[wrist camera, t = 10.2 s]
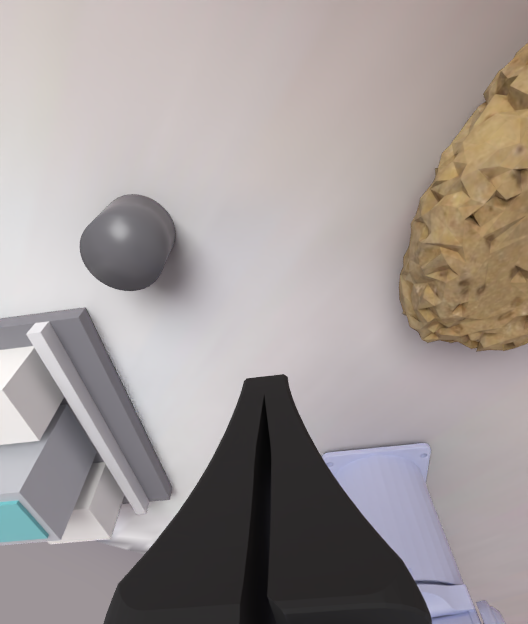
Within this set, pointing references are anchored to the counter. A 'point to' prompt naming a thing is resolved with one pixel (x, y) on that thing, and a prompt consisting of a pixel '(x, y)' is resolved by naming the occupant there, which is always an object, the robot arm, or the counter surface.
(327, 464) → the robot arm
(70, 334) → the rail board
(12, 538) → the module
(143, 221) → the knob
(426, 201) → the sponge
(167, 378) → the counter surface
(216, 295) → the counter surface
